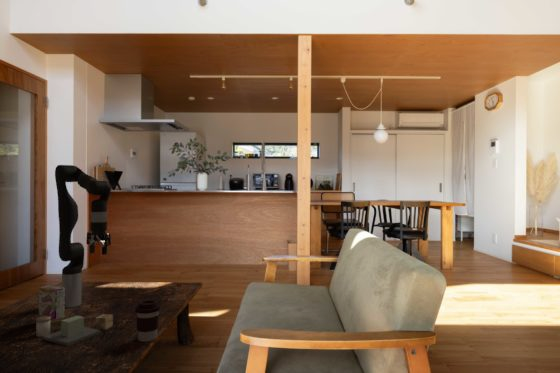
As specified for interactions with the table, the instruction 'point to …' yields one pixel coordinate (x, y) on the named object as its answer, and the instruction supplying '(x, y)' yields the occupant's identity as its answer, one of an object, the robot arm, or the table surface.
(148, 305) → the coffee cup
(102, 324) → the oak cube
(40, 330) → the cream jar
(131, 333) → the table surface
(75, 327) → the sage block
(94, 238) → the robot arm
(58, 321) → the walnut block
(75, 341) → the board
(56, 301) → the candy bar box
